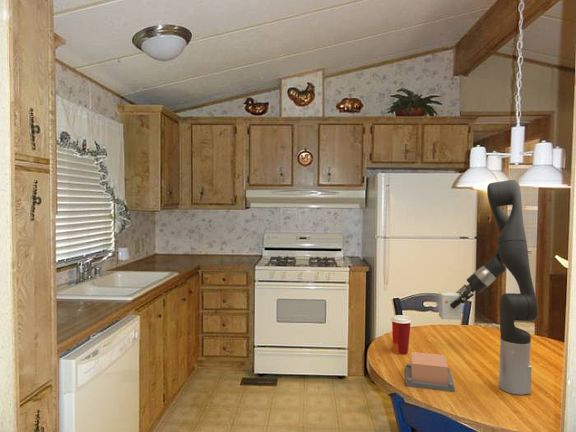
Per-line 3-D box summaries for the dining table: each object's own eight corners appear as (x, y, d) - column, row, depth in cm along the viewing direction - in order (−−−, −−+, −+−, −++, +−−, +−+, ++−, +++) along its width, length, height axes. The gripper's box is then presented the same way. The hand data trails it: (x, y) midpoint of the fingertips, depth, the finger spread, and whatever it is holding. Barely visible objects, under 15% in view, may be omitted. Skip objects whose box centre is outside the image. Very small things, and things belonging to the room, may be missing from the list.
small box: (457, 316, 190) (458, 292, 189) (461, 320, 184) (461, 295, 184) (438, 316, 190) (439, 292, 190) (441, 319, 185) (442, 294, 184)
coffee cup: (412, 351, 187) (413, 316, 186) (407, 357, 180) (408, 321, 179) (393, 347, 191) (394, 313, 191) (387, 353, 184) (388, 318, 183)
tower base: (449, 373, 164) (450, 353, 163) (454, 391, 148) (455, 370, 148) (405, 368, 168) (405, 349, 167) (405, 386, 152) (406, 364, 152)
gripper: (472, 270, 191) (442, 295, 195) (477, 275, 177) (445, 302, 181) (484, 282, 190) (455, 307, 194) (491, 289, 176) (459, 316, 180)
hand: (450, 305), depth 187 cm, fingers closed on small box, 6 cm apart
